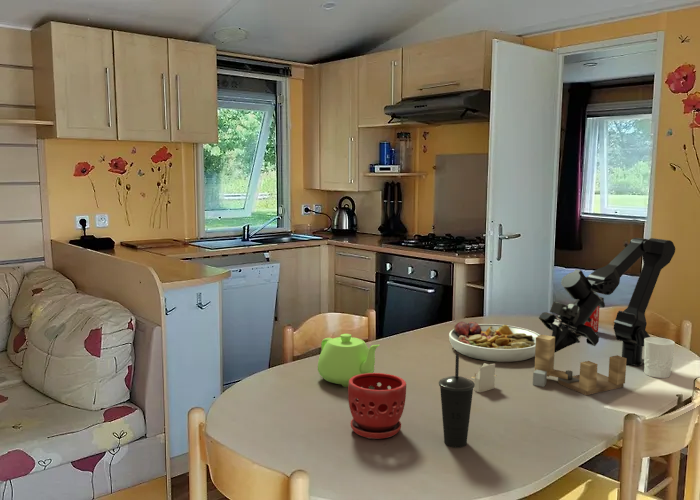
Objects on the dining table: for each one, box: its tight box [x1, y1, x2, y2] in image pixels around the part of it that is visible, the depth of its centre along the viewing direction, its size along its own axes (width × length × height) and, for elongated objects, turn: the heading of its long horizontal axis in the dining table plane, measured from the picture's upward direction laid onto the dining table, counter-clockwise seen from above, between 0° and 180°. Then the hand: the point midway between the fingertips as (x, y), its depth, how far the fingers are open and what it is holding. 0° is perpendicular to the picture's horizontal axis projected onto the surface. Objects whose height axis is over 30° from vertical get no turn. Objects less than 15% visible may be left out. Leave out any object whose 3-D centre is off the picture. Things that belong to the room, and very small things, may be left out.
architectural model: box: [470, 362, 498, 393], centre depth 170 cm, size 3×7×7 cm, turn 124°
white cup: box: [643, 336, 676, 379], centre depth 180 cm, size 8×8×10 cm
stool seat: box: [557, 354, 627, 396], centre depth 171 cm, size 14×10×8 cm
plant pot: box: [347, 372, 407, 440], centre depth 142 cm, size 13×13×12 cm
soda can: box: [584, 306, 601, 333], centre depth 225 cm, size 6×6×12 cm
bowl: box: [448, 321, 541, 363], centre depth 204 cm, size 30×30×8 cm
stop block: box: [532, 369, 548, 388], centre depth 173 cm, size 3×3×4 cm
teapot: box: [317, 333, 380, 388], centre depth 175 cm, size 22×15×13 cm
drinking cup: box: [438, 353, 475, 448], centre depth 136 cm, size 8×8×20 cm
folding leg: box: [533, 334, 573, 380], centre depth 174 cm, size 10×4×10 cm, turn 52°
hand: (550, 351), depth 177 cm, fingers closed
